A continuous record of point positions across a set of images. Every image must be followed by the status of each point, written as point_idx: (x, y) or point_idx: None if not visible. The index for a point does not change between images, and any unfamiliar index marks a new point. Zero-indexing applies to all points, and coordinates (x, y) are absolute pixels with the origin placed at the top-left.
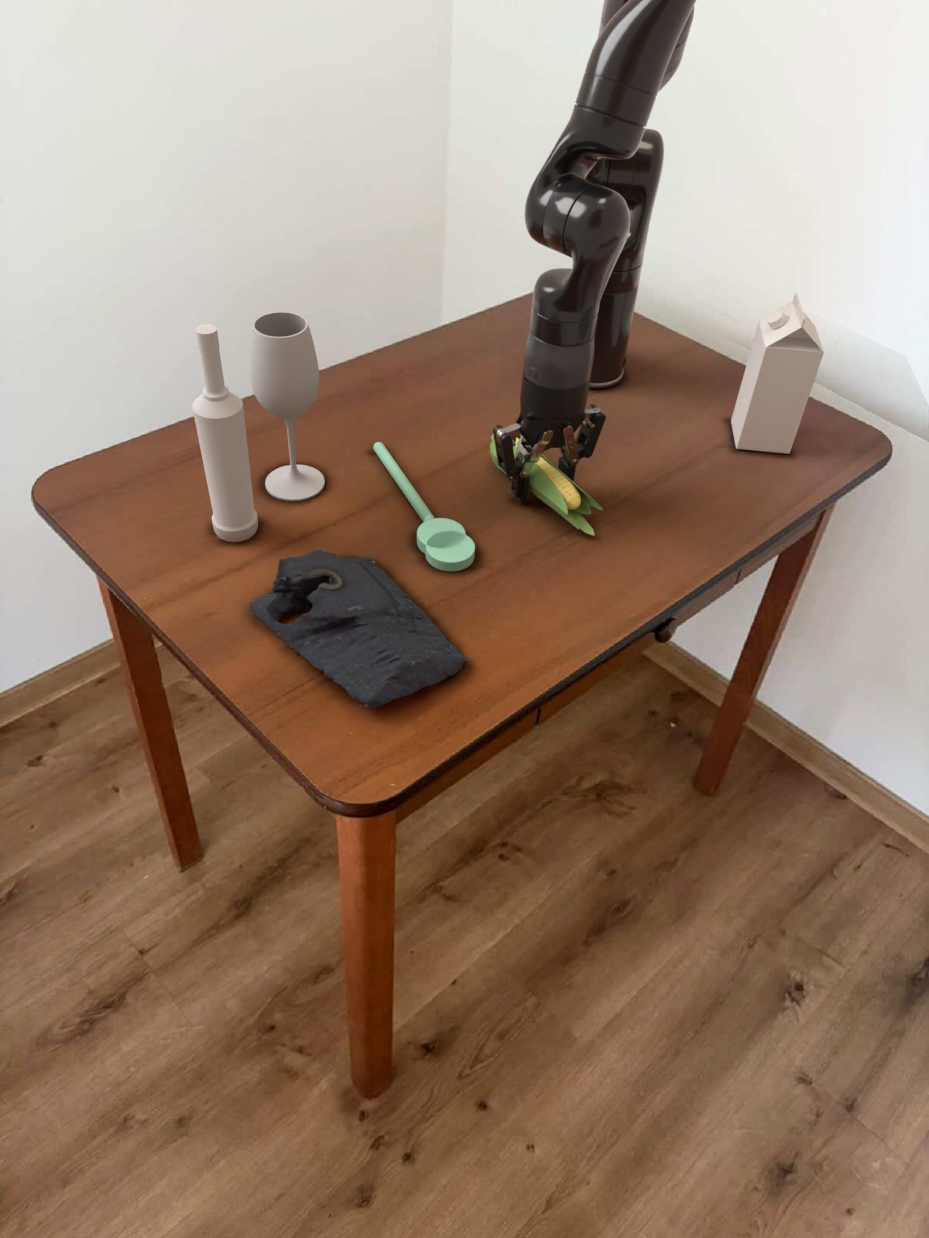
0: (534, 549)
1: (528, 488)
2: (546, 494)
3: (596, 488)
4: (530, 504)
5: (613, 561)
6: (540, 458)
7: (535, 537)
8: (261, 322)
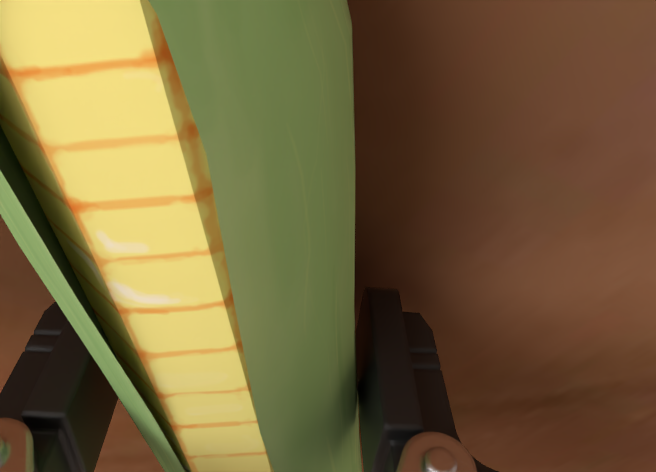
0: None
1: (114, 405)
2: None
3: (533, 319)
4: None
5: None
6: (240, 413)
7: (112, 429)
8: None
